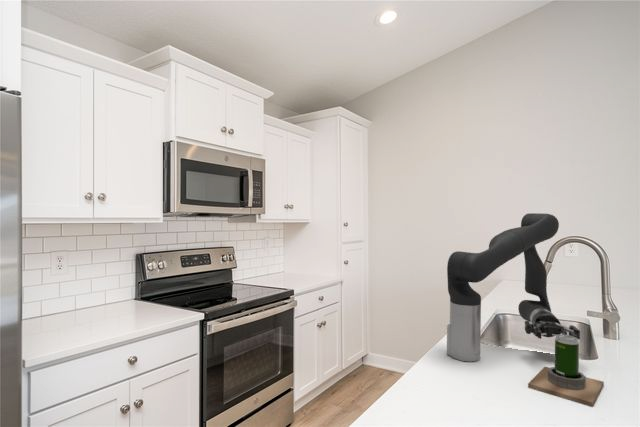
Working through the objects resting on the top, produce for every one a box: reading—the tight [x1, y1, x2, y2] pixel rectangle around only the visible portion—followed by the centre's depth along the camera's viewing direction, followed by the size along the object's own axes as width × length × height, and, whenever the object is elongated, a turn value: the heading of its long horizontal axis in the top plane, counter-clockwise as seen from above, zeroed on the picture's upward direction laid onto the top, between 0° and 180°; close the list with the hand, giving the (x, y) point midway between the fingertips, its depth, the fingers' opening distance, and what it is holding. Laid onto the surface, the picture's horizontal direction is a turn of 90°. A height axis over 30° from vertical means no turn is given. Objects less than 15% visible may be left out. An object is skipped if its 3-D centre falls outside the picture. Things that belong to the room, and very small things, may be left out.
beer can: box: [554, 333, 580, 379], centre depth 101 cm, size 5×5×12 cm
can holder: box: [527, 366, 605, 408], centre depth 101 cm, size 14×16×4 cm
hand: (556, 337), depth 111 cm, fingers open, 8 cm apart
